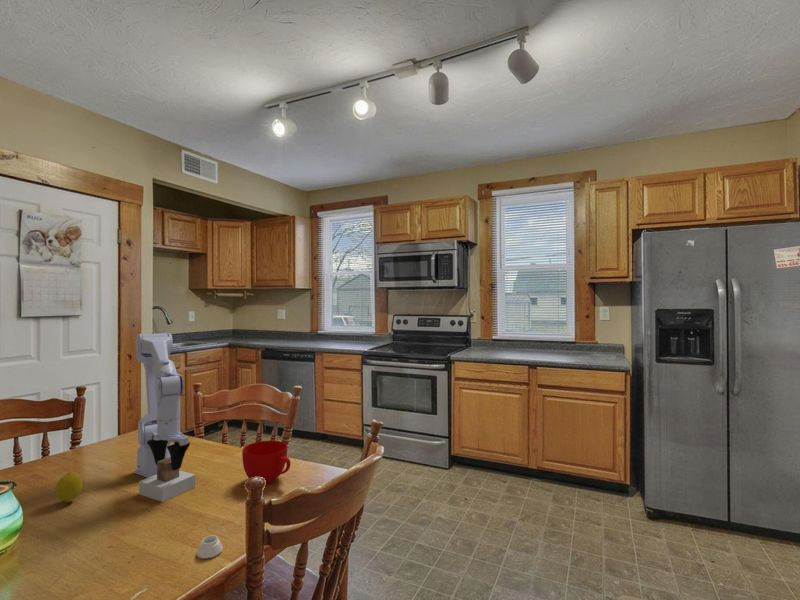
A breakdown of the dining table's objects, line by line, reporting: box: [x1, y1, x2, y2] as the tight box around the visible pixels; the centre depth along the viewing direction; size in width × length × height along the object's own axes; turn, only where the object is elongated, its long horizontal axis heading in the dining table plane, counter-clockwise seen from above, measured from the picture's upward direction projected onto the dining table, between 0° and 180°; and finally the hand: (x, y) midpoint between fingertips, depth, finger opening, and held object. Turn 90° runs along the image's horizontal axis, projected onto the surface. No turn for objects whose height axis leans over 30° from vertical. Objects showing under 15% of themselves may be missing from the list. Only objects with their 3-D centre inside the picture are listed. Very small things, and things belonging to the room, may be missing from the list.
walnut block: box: [157, 456, 180, 482], centre depth 117 cm, size 4×4×5 cm
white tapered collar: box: [196, 535, 224, 559], centre depth 89 cm, size 5×3×5 cm
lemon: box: [55, 471, 83, 504], centre depth 110 cm, size 6×6×8 cm
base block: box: [138, 469, 196, 503], centre depth 117 cm, size 10×10×4 cm
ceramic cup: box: [241, 440, 292, 486], centre depth 124 cm, size 13×17×10 cm
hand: (168, 466), depth 118 cm, fingers open, 7 cm apart
